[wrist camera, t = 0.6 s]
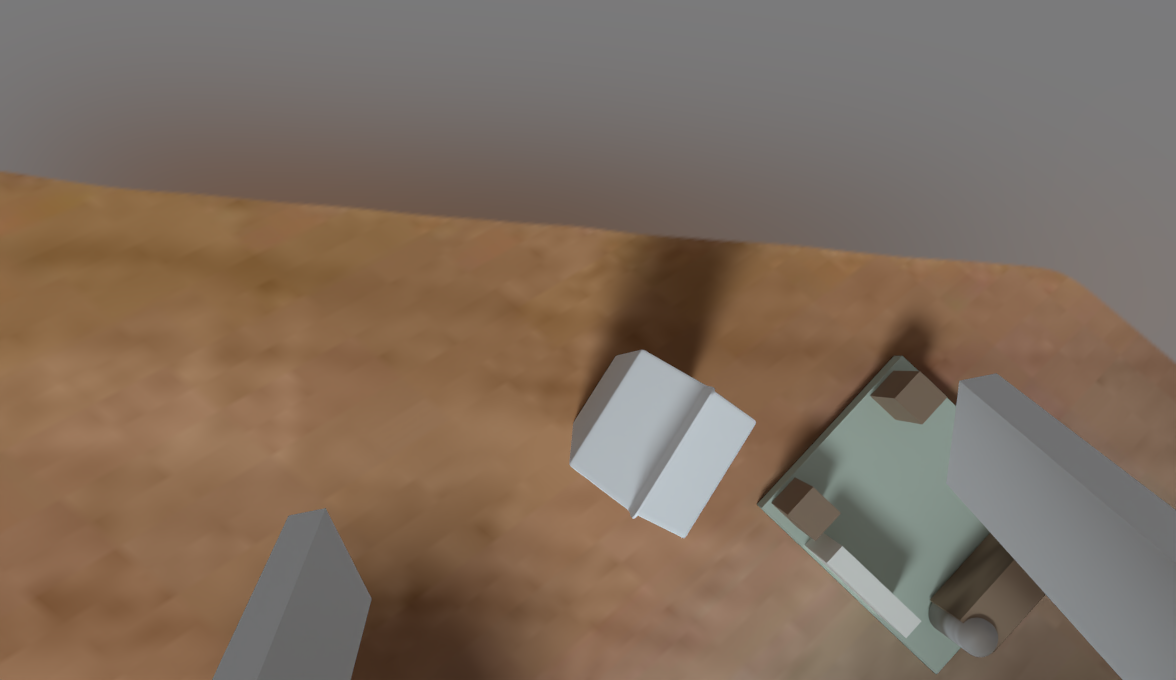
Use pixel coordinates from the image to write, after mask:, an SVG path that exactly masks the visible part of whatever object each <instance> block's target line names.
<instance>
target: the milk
mask: <svg viewBox="0 0 1176 680" xmlns="http://www.w3.org/2000/svg"><path fill="white" fill-rule="evenodd" d="M755 424H756V421H755V420H754V419H753V418H751V417H750V416H748V415H747V414H746V413H744V412H743V411H741V410H740V409H739V408H737V407H736V406H734V405H733V404H732V403H730V402H729V401H727V400H726V399H725V398H723V397H722V396H720V395H719V394H718V393H716V392H715V388H713V387H710V386H706V385H704V384H703V383H701V382H699V381H697V380H696V379H694V378H692V377H690V376H689V375H687V374H685V373H683V372H682V371H680V370H678V369H677V368H675V367H673V366H671V365H670V364H668V363H666V362H664V361H663V360H661V359H659V358H657V357H656V356H654V355H652V354H650V353H649V352H647V351H645V350H638V351H634V352H629V353H625V354H621V355H617V356H615V358H614V359H613V361H612V362H611V364H610V366H609V367H608V369H607V370H606V372H605V374H604V375H603V377H602V378H601V380H600V381H599V383H598V385H597V386H596V388H595V389H594V391H593V393H592V394H591V396H590V397H589V399H588V400H587V402H586V404H585V405H584V407H583V408H582V410H581V411H580V413H579V415H578V416H577V418H576V419H575V421H574V423H573V432H572V442H571V453H570V466H571V467H572V468H573V469H575V470H576V471H577V472H579V473H580V474H581V475H583V476H584V477H585V478H587V479H588V480H589V481H591V482H592V483H593V484H595V485H596V486H597V487H598V488H600V489H601V490H602V491H604V492H605V493H606V494H608V495H609V496H610V497H612V498H613V499H614V500H616V501H617V502H618V503H620V504H621V505H622V506H624V507H625V508H626V509H627V510H629V512H630V515H631V517H632V518H633V519H634V518H636V517H637V516H640V517H642V518H644V519H646V520H648V521H650V522H652V523H654V524H656V525H658V526H660V527H662V528H664V529H666V530H668V531H670V532H672V533H674V534H676V535H678V536H680V537H682V538H685V537H686V536H687V534H688V533H689V531H690V529H691V528H692V526H693V524H694V523H695V521H696V520H697V518H698V516H699V515H700V513H701V512H702V510H703V508H704V507H705V505H706V503H707V502H708V500H709V499H710V497H711V495H712V494H713V492H714V490H715V489H716V487H717V486H718V484H719V482H720V481H721V479H722V478H723V476H724V474H725V473H726V471H727V469H728V468H729V466H730V465H731V463H732V461H733V460H734V458H735V457H736V455H737V453H738V452H739V450H740V448H741V447H742V445H743V444H744V442H745V440H746V439H747V437H748V435H749V434H750V432H751V431H752V429H753V427H754V426H755Z"/></svg>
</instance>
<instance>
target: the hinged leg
mask: <svg viewBox="0 0 1176 680" xmlns="http://www.w3.org/2000/svg"><path fill="white" fill-rule="evenodd" d="M1044 595H1045V593H1044V592H1043V591H1042V590H1041V588H1040V587H1039V586H1038V585H1037V584H1036V583H1035V582H1034V581H1033V580H1032V578H1031V577H1030V576H1029V575H1028V574H1027V573H1026V572H1025V571H1024V570H1023V568H1022V567H1021V566H1020V565H1019V564H1018V563H1017V562H1016V561H1015V560H1014V558H1013V557H1012V556H1011V555H1010V554H1009V553H1008V552H1007V551H1006V549H1005V548H1004V547H1003V546H1002V545H1001V544H1000V543H999V542H998V541H997V539H996V538H995V537H994V536H993V535H992V534H991V533H990V534H989V535H988V536H987V537H986V538H985V539H984V540H983V541H982V542H981V544H980V545H979V546H978V547H977V548H976V549H975V550H974V551H973V552H972V553H971V555H970V556H969V557H968V558H967V559H966V560H965V561H964V562H963V563H962V565H961V566H960V567H959V568H958V569H957V570H956V571H955V572H954V573H953V575H952V576H951V577H950V578H949V579H948V580H947V581H946V582H945V583H944V585H943V586H942V587H941V588H940V589H939V590H938V591H937V592H936V593H935V595H934V596H933V597H932V598H931V599H930V601H931V602H933V603H932V604H931V606H930V608H929V613H928V615H929V620H930V623H931V624H932V626H933V627H934V628H936V629H937V630H938V631H940V632H941V633H942V634H944V635H945V636H946V637H948V638H949V639H950V640H952V641H953V642H954V643H956V644H957V645H959V646H960V647H961V648H963V649H964V650H965V651H967V652H968V653H969V654H971V655H973V656H976V657H985V656H988V655H989V654H991V653H992V652H994V651H995V650H996V649H997V648H998V647H999V646H1000V645H1001V644H1002V643H1003V641H1004V640H1005V639H1006V638H1007V637H1008V636H1009V635H1010V634H1011V632H1012V631H1013V630H1014V629H1015V628H1016V627H1017V626H1018V625H1019V623H1020V622H1021V621H1022V620H1023V619H1024V618H1025V617H1026V616H1027V615H1028V613H1029V612H1030V611H1031V610H1032V609H1033V608H1034V607H1035V606H1036V604H1037V603H1038V602H1039V601H1040V600H1041V599H1042V598H1043V597H1044Z"/></svg>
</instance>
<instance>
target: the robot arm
mask: <svg viewBox="0 0 1176 680" xmlns="http://www.w3.org/2000/svg"><path fill="white" fill-rule="evenodd" d="M946 484H947V485H948V486H949V487H950V488H951V489H952V490H953V492H954V493H955V494H956V495H957V496H958V497H959V498H960V499H961V500H962V502H963V503H964V504H965V505H966V506H967V507H968V508H969V509H970V511H971V512H972V513H973V514H974V515H975V516H976V517H977V518H978V519H979V521H980V522H981V523H982V524H983V525H984V526H985V527H986V528H987V529H988V531H989V532H990V533H991V534H992V535H993V536H994V537H995V538H996V539H997V541H998V542H999V543H1000V544H1001V545H1002V546H1003V547H1004V548H1005V549H1006V551H1007V552H1008V553H1009V554H1010V555H1011V556H1012V557H1013V558H1014V560H1015V561H1016V562H1017V563H1018V564H1019V565H1020V566H1021V567H1022V568H1023V570H1024V571H1025V572H1026V573H1027V574H1028V575H1029V576H1030V577H1031V578H1032V580H1033V581H1034V582H1035V583H1036V584H1037V585H1038V586H1039V587H1040V588H1041V590H1042V591H1043V592H1044V593H1045V594H1046V595H1047V596H1048V597H1049V598H1050V600H1051V601H1052V602H1053V603H1054V604H1055V605H1056V606H1057V607H1058V609H1059V610H1060V611H1061V612H1062V613H1063V614H1064V615H1065V616H1066V617H1067V619H1068V620H1069V621H1070V622H1071V623H1072V624H1073V625H1074V626H1075V627H1076V629H1077V630H1078V631H1079V632H1080V633H1081V634H1082V635H1083V636H1084V637H1085V639H1086V640H1087V641H1088V642H1089V643H1090V644H1091V645H1092V646H1093V647H1094V649H1095V650H1096V651H1097V652H1098V653H1099V654H1100V655H1101V656H1102V658H1103V659H1104V660H1105V661H1106V662H1107V663H1108V664H1109V665H1110V666H1111V668H1112V669H1113V670H1114V671H1115V672H1116V673H1117V674H1118V675H1119V676H1120V678H1121V679H1122V680H1176V510H1175V509H1174V508H1172V507H1171V506H1170V505H1168V504H1167V503H1166V502H1164V501H1163V500H1162V499H1161V498H1159V497H1158V496H1157V495H1155V494H1154V493H1153V492H1151V491H1150V490H1149V489H1147V488H1146V487H1145V486H1143V485H1142V484H1141V483H1140V482H1138V481H1137V480H1136V479H1134V478H1133V477H1132V476H1130V475H1129V474H1128V473H1126V472H1125V471H1124V470H1123V469H1121V468H1120V467H1119V466H1117V465H1116V464H1115V463H1113V462H1112V461H1111V460H1109V459H1108V458H1107V457H1105V456H1104V455H1103V454H1102V453H1100V452H1099V451H1098V450H1096V449H1095V448H1094V447H1092V446H1091V445H1090V444H1088V443H1087V442H1086V441H1084V440H1083V439H1082V438H1081V437H1079V436H1078V435H1077V434H1075V433H1074V432H1073V431H1071V430H1070V429H1069V428H1067V427H1066V426H1065V425H1064V424H1062V423H1061V422H1060V421H1058V420H1057V419H1056V418H1054V417H1053V416H1052V415H1050V414H1049V413H1048V412H1046V411H1045V410H1044V409H1043V408H1041V407H1040V406H1039V405H1037V404H1036V403H1035V402H1033V401H1032V400H1031V399H1029V398H1028V397H1027V396H1025V395H1024V394H1023V393H1022V392H1020V391H1019V390H1018V389H1016V388H1015V387H1014V386H1012V385H1011V384H1010V383H1008V382H1007V381H1006V380H1004V379H1003V378H1002V377H1001V376H999V375H998V374H997V373H996V374H991V375H986V376H981V377H976V378H971V379H966V380H961V381H959V388H958V396H957V404H956V412H955V419H954V427H953V435H952V442H951V450H950V458H949V465H948V473H947V481H946ZM371 599H372V598H371V596H370V594H369V592H368V591H367V589H366V587H365V585H364V583H363V581H362V579H361V577H360V575H359V573H358V571H357V569H356V567H355V565H354V563H353V561H352V559H351V557H350V555H349V553H348V551H347V549H346V547H345V545H344V543H343V541H342V540H341V538H340V536H339V534H338V532H337V530H336V528H335V526H334V524H333V522H332V520H331V518H330V516H329V514H328V512H327V510H326V508H325V509H320V510H315V511H310V512H305V513H300V514H295V515H290V516H288V518H287V520H286V523H285V525H284V527H283V529H282V531H281V533H280V535H279V538H278V540H277V542H276V544H275V546H274V548H273V550H272V553H271V555H270V557H269V559H268V561H267V563H266V565H265V568H264V570H263V572H262V574H261V576H260V578H259V580H258V583H257V585H256V587H255V589H254V591H253V593H252V595H251V598H250V600H249V602H248V604H247V606H246V608H245V610H244V613H243V615H242V617H241V619H240V621H239V623H238V625H237V628H236V630H235V632H234V634H233V636H232V638H231V640H230V643H229V645H228V647H227V649H226V651H225V653H224V655H223V658H222V660H221V662H220V664H219V666H218V668H217V670H216V673H215V675H214V677H213V679H212V680H351V677H352V673H353V669H354V665H355V661H356V657H357V653H358V650H359V646H360V642H361V638H362V634H363V630H364V626H365V623H366V619H367V615H368V611H369V607H370V603H371Z"/></svg>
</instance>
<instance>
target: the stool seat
mask: <svg viewBox="0 0 1176 680" xmlns="http://www.w3.org/2000/svg"><path fill="white" fill-rule="evenodd" d="M955 412H956V406H955V405H954V404H953V403H952V402H951V401H950V400H949V399H948V398H947V396H946V395H945V394H944V393H943V392H942V391H940V390H939V389H938V388H937V387H936V386H935V385H934V384H933V383H932V382H931V381H930V380H929V379H928V378H927V377H926V376H925V375H923V374H922V373H921V372H920V371H918V370H917V369H916V368H915V367H914V366H913V365H912V364H911V363H910V362H909V361H907V360H906V359H905V358H904V357H903V356H893V357H892V359H891V360H890V361H889V362H888V363H887V364H886V365H885V366H884V367H883V368H882V369H881V370H880V372H879V373H878V374H877V375H876V376H875V377H874V378H873V379H872V380H871V381H870V382H869V383H868V384H867V386H866V387H865V388H864V389H863V390H862V391H861V392H860V393H859V394H858V395H857V396H856V397H855V399H854V400H853V401H852V402H851V403H850V404H849V405H848V406H847V407H846V408H845V409H844V410H843V412H842V413H841V414H840V415H839V416H838V417H837V418H836V419H835V420H834V421H833V422H832V423H831V425H830V426H829V427H828V428H827V429H826V430H825V431H824V432H823V433H822V434H821V435H820V436H819V438H818V439H817V440H816V441H815V442H814V443H813V444H812V445H811V446H810V447H809V448H808V449H807V451H806V452H805V453H804V454H803V455H802V456H801V457H800V458H799V459H798V460H797V461H796V462H795V464H794V465H793V466H792V467H791V468H790V469H789V470H788V471H787V472H786V473H785V474H784V475H783V477H782V478H781V479H780V480H779V481H778V482H777V483H776V484H775V485H774V486H773V487H772V488H771V489H770V491H769V492H768V493H767V494H766V495H765V496H764V497H763V498H762V499H761V500H760V501H759V502H758V504H757V505H758V506H759V507H760V508H761V509H762V510H763V511H764V512H765V513H766V514H767V515H768V516H769V517H770V518H771V519H773V520H774V521H775V522H776V523H777V524H778V525H779V526H780V527H781V528H782V529H783V530H784V531H785V532H786V533H787V534H788V535H789V536H790V537H791V538H793V539H794V540H795V541H796V542H797V543H798V544H799V545H800V546H801V547H802V548H803V549H804V550H805V551H806V552H807V553H808V554H809V555H810V556H811V557H812V558H814V559H815V560H816V561H817V562H818V563H819V564H820V565H821V566H822V567H823V568H824V569H825V570H826V571H827V572H828V573H829V574H830V575H831V576H832V577H834V578H835V579H836V580H837V581H838V582H839V583H840V584H841V585H842V586H843V587H844V588H845V589H846V590H847V591H848V592H849V593H850V594H851V595H852V596H854V597H855V598H856V599H857V600H858V601H859V602H860V603H861V604H862V605H863V606H864V607H865V608H866V609H867V610H868V611H869V612H870V613H871V614H872V615H874V616H875V617H876V618H877V619H878V620H879V621H880V622H881V623H882V624H883V625H884V626H885V627H886V628H887V629H888V630H889V631H890V632H891V633H892V634H894V635H895V636H896V637H897V638H898V639H899V640H900V641H901V642H902V643H903V644H904V645H905V646H906V647H907V648H908V649H909V650H910V651H911V652H912V653H914V654H915V655H916V656H917V657H918V658H919V659H920V660H921V661H922V662H923V663H924V664H925V665H926V666H927V667H928V668H930V669H931V670H932V671H933V672H934V673H935V674H936V675H937V674H938V672H939V671H940V670H941V669H942V668H943V667H944V666H945V665H946V664H947V662H948V661H949V660H950V659H951V658H952V657H953V656H954V655H955V654H956V652H957V651H958V650H959V649H960V648H961V647H960V646H959V645H957V644H956V643H954V642H953V641H952V640H950V639H949V638H948V637H946V636H945V635H944V634H942V633H941V632H940V631H938V630H937V629H936V628H934V627H933V626H932V624H931V623H930V620H929V615H928V613H929V608H930V606H931V604H932V603H933V602H931V601H930V599H931V598H932V597H933V596H934V595H935V593H936V592H937V591H938V590H939V589H940V588H941V587H942V586H943V585H944V583H945V582H946V581H947V580H948V579H949V578H950V577H951V576H952V575H953V573H954V572H955V571H956V570H957V569H958V568H959V567H960V566H961V565H962V563H963V562H964V561H965V560H966V559H967V558H968V557H969V556H970V555H971V553H972V552H973V551H974V550H975V549H976V548H977V547H978V546H979V545H980V544H981V542H982V541H983V540H984V539H985V538H986V537H987V536H988V535H989V534H990V532H989V531H988V529H987V528H986V527H985V526H984V525H983V524H982V523H981V522H980V521H979V519H978V518H977V517H976V516H975V515H974V514H973V513H972V512H971V511H970V509H969V508H968V507H967V506H966V505H965V504H964V503H963V502H962V500H961V499H960V498H959V497H958V496H957V495H956V494H955V493H954V492H953V490H952V489H951V488H950V487H949V486H948V485H947V484H946V481H947V473H948V465H949V458H950V450H951V442H952V435H953V427H954V419H955Z"/></svg>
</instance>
